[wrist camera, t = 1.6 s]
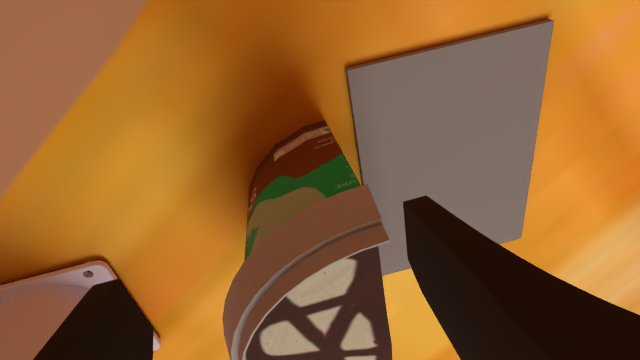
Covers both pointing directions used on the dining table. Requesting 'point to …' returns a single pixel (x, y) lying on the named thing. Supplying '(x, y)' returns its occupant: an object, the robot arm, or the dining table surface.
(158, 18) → the dining table surface
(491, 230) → the mat
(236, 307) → the food container
